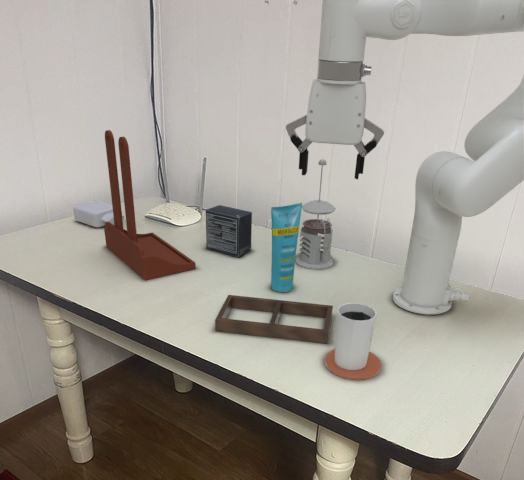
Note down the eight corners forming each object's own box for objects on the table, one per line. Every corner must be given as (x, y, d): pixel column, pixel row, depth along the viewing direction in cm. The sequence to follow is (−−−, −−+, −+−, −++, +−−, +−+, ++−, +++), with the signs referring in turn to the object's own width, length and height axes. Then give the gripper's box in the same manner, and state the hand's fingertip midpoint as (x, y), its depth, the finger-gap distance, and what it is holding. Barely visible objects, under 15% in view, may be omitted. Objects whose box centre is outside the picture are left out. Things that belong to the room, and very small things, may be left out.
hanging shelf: (195, 268, 136) (191, 138, 120) (145, 280, 129) (133, 144, 114) (152, 238, 153) (143, 120, 137) (106, 247, 146) (91, 124, 131)
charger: (109, 233, 155) (75, 221, 162) (135, 225, 161) (100, 214, 169) (107, 217, 152) (72, 205, 160) (133, 209, 159) (98, 198, 166)
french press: (324, 252, 148) (333, 153, 135) (343, 269, 138) (355, 165, 125) (289, 255, 145) (295, 155, 132) (306, 273, 136) (314, 167, 123)
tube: (274, 295, 125) (278, 210, 115) (262, 287, 128) (265, 203, 118) (301, 288, 128) (307, 205, 118) (289, 280, 132) (294, 199, 122)
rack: (331, 316, 117) (332, 305, 116) (327, 343, 107) (328, 332, 106) (228, 305, 120) (228, 294, 119) (215, 331, 110) (215, 319, 109)
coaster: (380, 353, 105) (381, 350, 105) (380, 383, 96) (381, 380, 96) (327, 347, 106) (327, 344, 106) (322, 376, 98) (323, 373, 97)
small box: (252, 250, 147) (253, 211, 142) (238, 258, 142) (239, 217, 137) (220, 242, 152) (219, 203, 147) (205, 249, 147) (204, 209, 142)
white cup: (334, 349, 104) (340, 300, 99) (370, 355, 103) (378, 306, 98) (329, 367, 99) (334, 317, 94) (367, 374, 98) (374, 323, 92)
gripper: (391, 73, 97) (377, 174, 106) (291, 68, 99) (286, 167, 108) (392, 77, 91) (377, 184, 99) (285, 72, 93) (280, 177, 102)
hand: (330, 175), depth 104 cm, fingers open, 9 cm apart
